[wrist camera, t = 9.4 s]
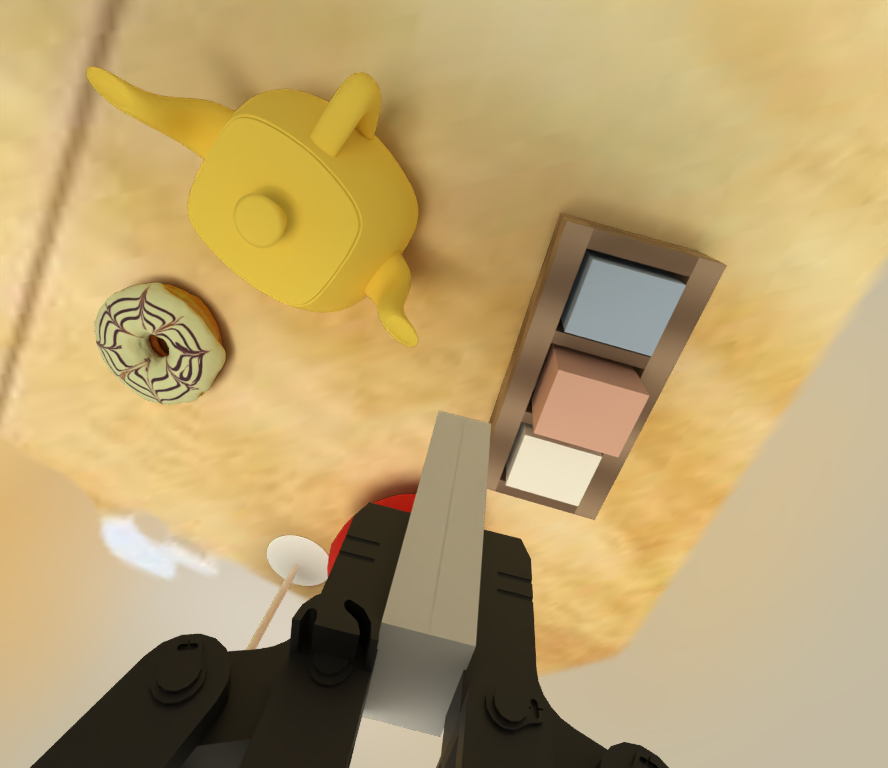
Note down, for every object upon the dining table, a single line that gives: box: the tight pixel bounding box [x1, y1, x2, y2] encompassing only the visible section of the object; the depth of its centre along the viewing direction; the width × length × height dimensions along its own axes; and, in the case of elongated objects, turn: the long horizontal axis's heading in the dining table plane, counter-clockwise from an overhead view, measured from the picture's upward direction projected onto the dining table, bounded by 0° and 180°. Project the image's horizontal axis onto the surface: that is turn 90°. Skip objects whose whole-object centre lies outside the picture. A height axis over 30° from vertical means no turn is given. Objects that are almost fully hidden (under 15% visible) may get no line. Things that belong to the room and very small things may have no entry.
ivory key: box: [506, 422, 602, 506], centre depth 37 cm, size 5×6×5 cm
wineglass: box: [246, 535, 329, 650], centre depth 43 cm, size 8×9×20 cm
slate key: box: [561, 248, 686, 356], centre depth 31 cm, size 5×6×5 cm
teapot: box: [86, 67, 419, 347], centre depth 30 cm, size 22×16×11 cm
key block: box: [487, 213, 727, 520], centre depth 35 cm, size 21×10×5 cm, turn 166°
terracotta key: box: [532, 343, 650, 457], centre depth 32 cm, size 5×6×5 cm
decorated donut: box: [95, 282, 226, 405], centre depth 40 cm, size 10×11×4 cm
